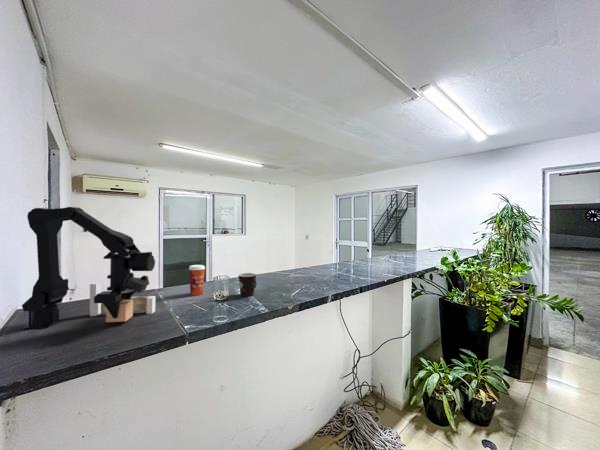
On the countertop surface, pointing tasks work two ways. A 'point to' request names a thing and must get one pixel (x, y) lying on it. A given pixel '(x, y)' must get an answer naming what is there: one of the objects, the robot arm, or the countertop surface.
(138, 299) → the gate
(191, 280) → the paper cup
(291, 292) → the countertop surface
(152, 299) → the twin post hurdle
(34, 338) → the countertop surface
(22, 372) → the countertop surface
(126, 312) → the doorstop block
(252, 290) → the coffee mug
